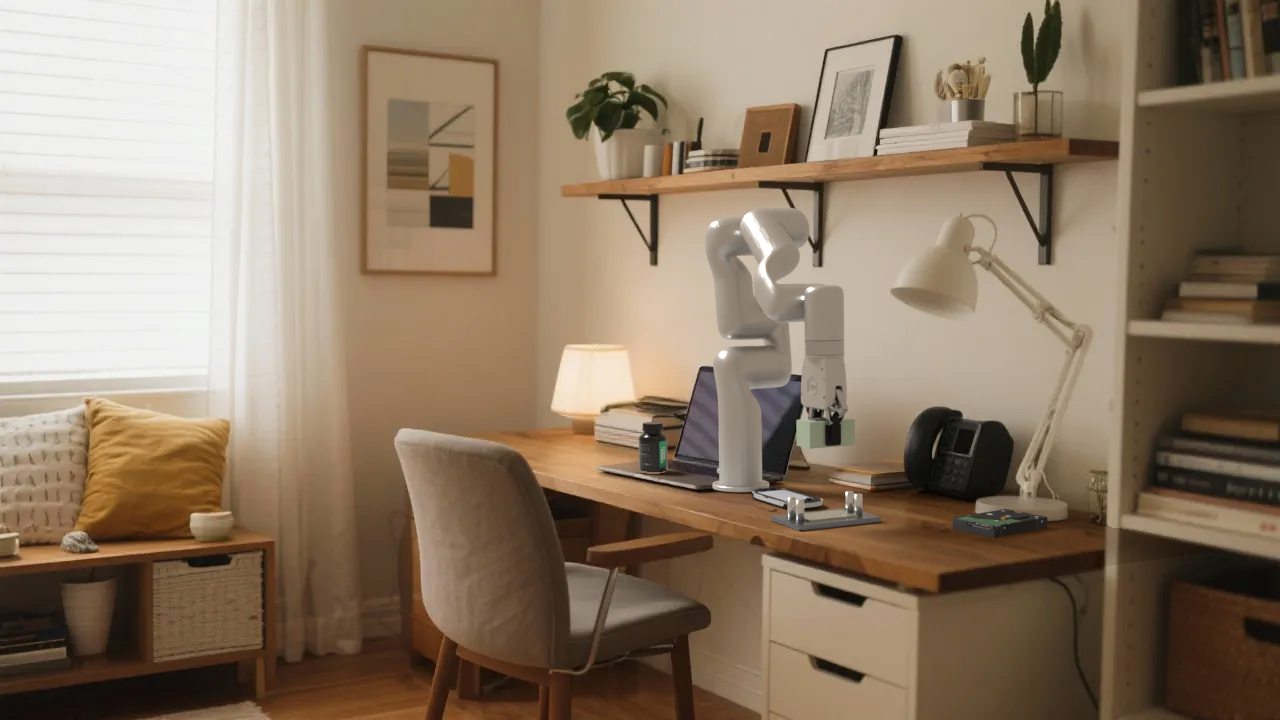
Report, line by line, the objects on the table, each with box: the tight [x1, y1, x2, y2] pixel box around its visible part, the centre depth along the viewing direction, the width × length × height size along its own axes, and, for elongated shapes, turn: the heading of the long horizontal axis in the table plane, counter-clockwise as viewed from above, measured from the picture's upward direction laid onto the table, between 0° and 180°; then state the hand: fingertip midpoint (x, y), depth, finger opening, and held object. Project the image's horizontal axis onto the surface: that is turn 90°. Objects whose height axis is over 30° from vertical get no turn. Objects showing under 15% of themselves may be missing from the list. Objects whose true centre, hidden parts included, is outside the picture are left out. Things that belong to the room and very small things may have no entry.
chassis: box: [770, 490, 882, 532], centre depth 259 cm, size 11×18×5 cm, turn 113°
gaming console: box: [751, 486, 824, 511], centre depth 279 cm, size 19×9×2 cm, turn 25°
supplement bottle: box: [638, 421, 669, 472], centre depth 321 cm, size 7×7×12 cm
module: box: [795, 416, 856, 450], centre depth 258 cm, size 5×10×5 cm, turn 114°
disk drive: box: [952, 508, 1048, 539], centre depth 250 cm, size 10×3×15 cm
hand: (825, 442), depth 258 cm, fingers closed on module, 5 cm apart
